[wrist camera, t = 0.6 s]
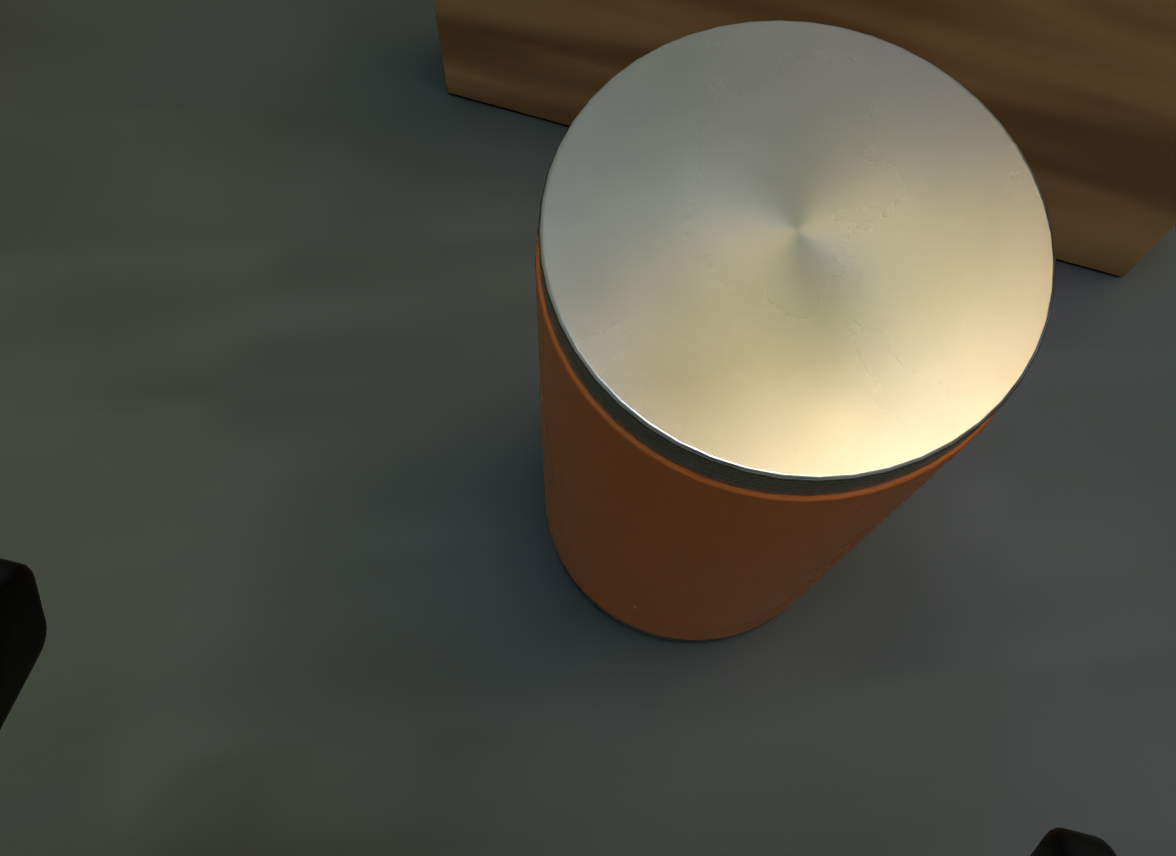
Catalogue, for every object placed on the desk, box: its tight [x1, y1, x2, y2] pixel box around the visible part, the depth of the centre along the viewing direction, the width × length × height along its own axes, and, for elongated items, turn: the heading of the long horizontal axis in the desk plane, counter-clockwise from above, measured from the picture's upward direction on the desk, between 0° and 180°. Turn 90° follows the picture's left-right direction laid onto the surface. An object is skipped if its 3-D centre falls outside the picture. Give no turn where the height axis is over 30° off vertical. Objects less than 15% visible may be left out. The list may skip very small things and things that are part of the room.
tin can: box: [535, 20, 1056, 642], centre depth 20 cm, size 7×7×13 cm
